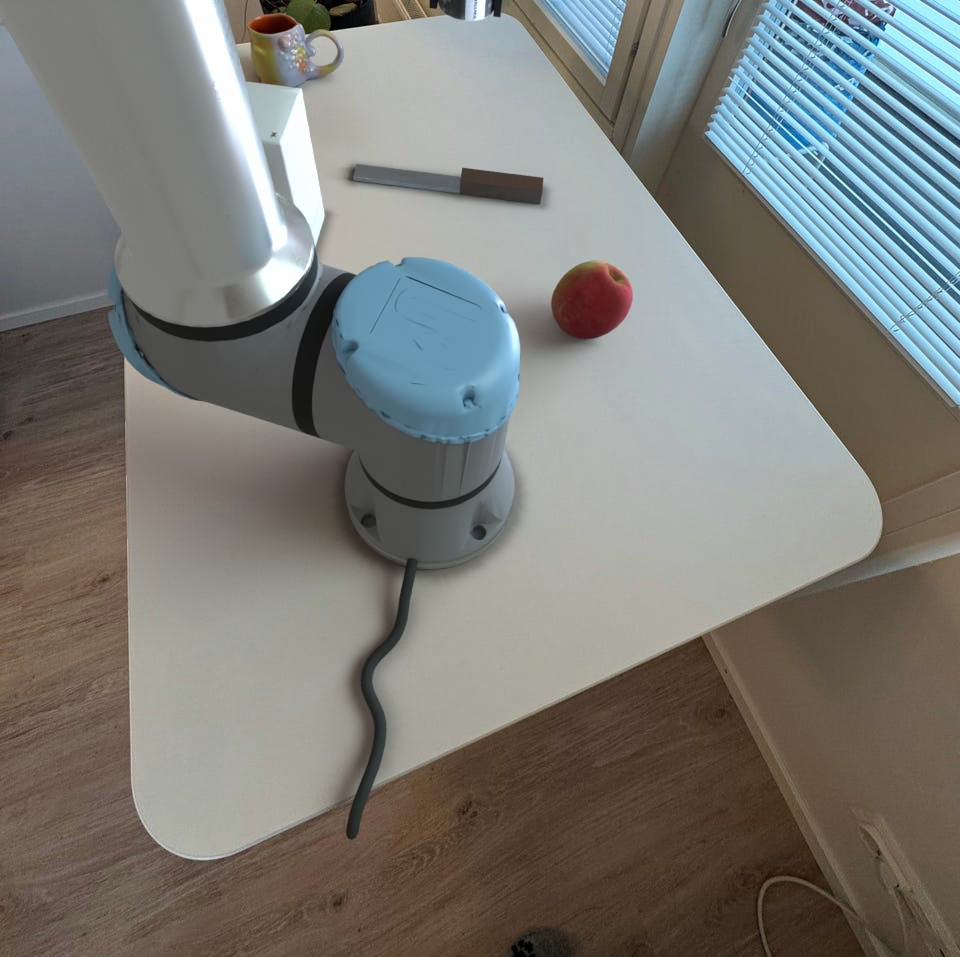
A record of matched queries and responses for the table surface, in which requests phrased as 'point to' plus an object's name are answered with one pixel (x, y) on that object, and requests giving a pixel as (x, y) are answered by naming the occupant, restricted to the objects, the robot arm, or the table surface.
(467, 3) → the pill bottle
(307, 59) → the mug
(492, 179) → the wooden handled blade
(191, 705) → the table surface
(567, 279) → the apple
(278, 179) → the rectangular carton
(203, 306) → the robot arm
